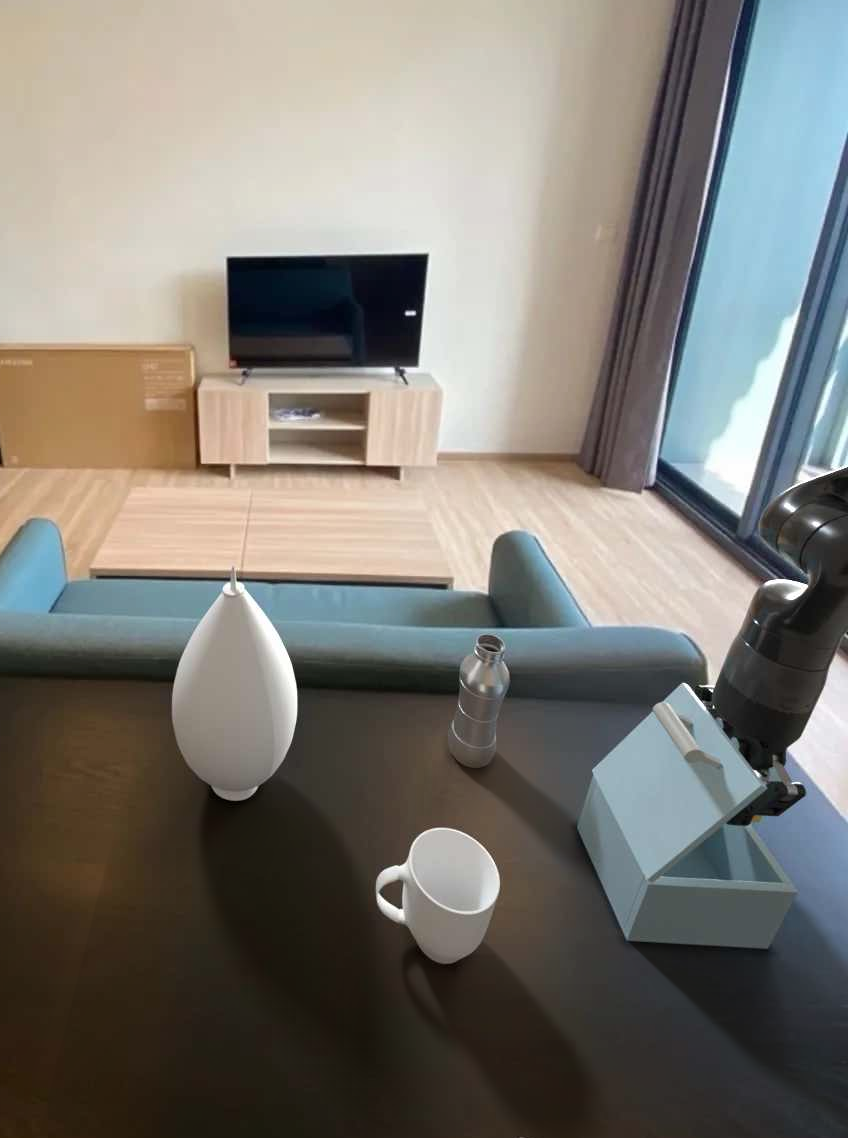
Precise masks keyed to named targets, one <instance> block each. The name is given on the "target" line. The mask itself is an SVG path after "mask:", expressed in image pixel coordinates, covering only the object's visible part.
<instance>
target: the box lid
mask: <svg viewBox="0 0 848 1138" xmlns="http://www.w3.org/2000/svg"><path fill="white" fill-rule="evenodd" d="M755 771H756V770H755ZM755 771H754V770H753V769H752V768H751V766H750V765H749V764H748V762H747V761H746V760H745V758H744V757H743V756H742V755H741V753H740V752H739V751H738V749H737V748H736V747H735V745H734V744H733V743H732V742H731V740H730V739H729V738H728V736H727V735H726V734H725V732H724V731H723V730H722V729H721V727H720V726H719V725H718V723H717V722H716V721H715V719H714V718H713V717H712V716H711V714H710V713H709V712H708V710H707V709H706V708H705V706H704V705H703V704H702V703H701V701H700V700H699V699H698V697H697V696H696V695H695V691H693V689H692V688H691V687H690V686H689V685H688V684H687V683H685V682H681V683H680V684H679V685H678V686H677V687H676V688H675V689H674V690H673V691H671V693H670V694H669V695H668V696H667V697H666V698H665V699H664V700H663V701H661V702H658V703H656V704H655V705H653V707H652V711H651V712H650V713H649V714H648V715H647V716H646V717H645V718H644V719H643V720H642V721H641V722H640V723H639V724H638V725H637V726H636V727H634V729H633V730H632V731H630V733H628V735H626V736H625V737H624V738H623V740H621V741H620V742H619V743H618V744H617V745H616V746H615V747H614V748H613V749H612V750H611V751H610V752H609V753H608V754H607V755H606V756H605V757H604V758H603V759H602V760H601V761H599V763H598V764H597V765H595V767H593V768H592V770H591V773H592V774H593V775H594V776H595V778H596V780H597V782H598V784H599V786H600V788H601V790H602V792H603V794H604V796H605V798H606V800H607V802H608V804H609V806H610V808H611V810H612V812H613V814H614V816H615V818H616V820H617V822H618V824H619V826H620V828H621V830H622V832H623V834H624V836H625V838H626V840H627V842H628V844H629V845H630V847H631V849H632V851H633V853H634V855H635V857H636V859H637V861H638V863H639V865H640V867H641V869H642V871H643V873H644V875H645V877H646V879H647V880H648V881H650V882H654V881H656V880H657V879H658V878H659V877H661V876H662V875H663V874H664V873H665V872H667V871H668V870H669V869H670V868H672V867H673V866H674V865H675V864H676V863H678V862H679V861H680V860H681V859H682V858H684V857H685V856H686V855H687V854H689V853H690V852H691V851H692V850H693V849H695V848H696V847H697V846H698V845H700V844H701V843H702V842H703V841H704V840H706V839H707V838H708V837H709V836H710V835H712V834H713V833H714V832H715V831H717V830H718V829H719V828H720V827H721V826H723V825H724V824H725V823H726V822H728V821H729V820H730V819H731V818H732V817H734V816H735V815H736V814H737V813H738V812H740V811H741V810H742V809H743V808H745V807H746V806H747V805H748V804H749V803H751V802H752V801H753V800H754V799H756V798H757V797H758V796H759V795H760V794H762V793H763V792H764V791H765V790H766V789H767V787H766V786H765V784H764V783H763V782H762V781H761V779H760V778H759V777H758V775H757V774H756V773H755Z"/></svg>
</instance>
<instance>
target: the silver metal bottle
mask: <svg viewBox="0 0 848 1138" xmlns="http://www.w3.org/2000/svg"><path fill="white" fill-rule="evenodd" d="M505 650H506V645H505V642H504V641H503V640H502V638H500V637H498V636H497V635H494V634H492V633H481V634H480V635H478V636H477V638H476V640H475V644H474V646H473V651H472V652H471V653H469V654H468V655H467V656H465V657H464V659H463V660H462V662H461V663H460V665H459V694H458V701H457V702H458V703H457V707H456V710H455V714H454V718H453V720H452V722H451V724H450V727H449V729H448V732H447V744H448V749H449V751H450V753H451V754H452V756H453V757H454V759H455V760H456V761H457V762H458V763H459V764H461V765H463V766H464V767H468V768H471V769H479V768H483V767H485V766H487V765H489V764H490V763H491V762H492V760H493V758H494V756H495V755H496V750H497V724H498V723H497V722H498V716H499V714H500V709H501V706H502V703H503V701H504V699H505V696H506V695H507V692H508V690H509V686H510V683H511V679H510V672H509V670H508V667H507V666H506V664H505V661H504V659H505V652H506V651H505Z"/></svg>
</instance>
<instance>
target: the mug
mask: <svg viewBox="0 0 848 1138" xmlns="http://www.w3.org/2000/svg"><path fill="white" fill-rule="evenodd" d="M398 880H399V881H401V882H403V885H402V892H401V893H402V895H401V903H402V905H401V906H402V908H400V909H399V908H398V907H396V906H395V905H393V904H391V903H389V902H388V901H387V900H385V899H384V897H382V896H381V894H380V891H381V890H382V888H384V887H385V886H386V885H388V884H391V883H394V882H396V881H398ZM500 886H501V880H500V874H499V871H498V867H497V865H496V863H495V861H494V859H493V858H492V856H491V854H490V853H489V852H488V850H486V848H485V847H484V846H483V845H482V844H481V843H480V842H478V841H477V840H476V839H475V838H473V837H471V836H470V835H468V834H467V833H465V832H462V831H461V830H457V829H454V828H449V827H435V828H431V829H430V828H429V829H428V830H425V831H423V832H422V833H420V834H419V835H418V836H416V838H414V841H413V842H412V844H411V846H410V849H409V853H408V857H407V859H406V861H405V863H403V864H401V865H393V866H390V867H387V868H385V869H384V870H382V871H381V872H380V873H379V874H378V876H377V877H376V881H375V897H376V898H375V899H376V903H377V907H378V909H379V910H380V911H381V913H382V914H383V916H386V918H388V919H390V920H391V921H393V922H395V923H396V924H401V925H404V926H406V927H407V928H408V929H409V932H410V934H411V935H412V937H413V938H414V940H415V942H416V944H417V945H418V948H419V949H420V951H422V953H423V954H424V955H425V956H427V958H429V959H431V960H432V961H434V962H436V963H439V964H444V965H449V964H453V963H456V962H458V961H459V960H461V959H463V958H465V957H466V958H467V956H469V955H471V954H472V953H473V952H474V951H476V949H478V947H479V946H480V944H481V943H482V942H483V940H484V937H485V935H486V933H487V930H488V927H489V925H490V922H491V919H492V915H493V912H494V909H495V906H496V902H497V900H498V896H499V893H500V888H501V887H500Z"/></svg>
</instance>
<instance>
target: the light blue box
mask: <svg viewBox="0 0 848 1138" xmlns="http://www.w3.org/2000/svg"><path fill="white" fill-rule="evenodd" d="M577 831H578V833H579V835H580V838H581V840H582V842H583V845H584V847H585V849H586V851H587V853H588V856H589V858H590V861H591V863H592V865H593V867H594V870H595V871H596V874H597V876H598V879H599V881H600V882H601V885H602V887H603V890H604V892H605V895H606V896H607V899H608V901H609V904H610V906H611V908H612V910H613V912H614V915H615V918H616V919H617V921H618V924H619V926H620V929H621V931H622V933H623V935H624V937H625V940H626V941H627V942H643V943H644V942H648V943H663V944H677V945H679V944H680V945H698V946H715V947H730V948H731V947H732V948H746V949H747V948H748V949H766V950H767V949H769V947H770V945H771V944H772V942H773V940H774V938H775V936H776V934H777V933H778V931H779V929H780V927H781V925H782V924H783V922H784V920H785V918H786V916H787V914H788V912H789V910H790V909H791V906H792V905H793V903H794V901H795V899H796V898H797V896H798V894H799V891H798V889H796V887H795V886H794V885H793V883H792V881H791V880H790V879H789V877H788V876H787V875H786V873H785V871H783V869H782V867H781V866H780V865H779V863H778V861H777V860H776V859H775V857H774V856H773V855H772V853H771V852H770V850H769V849H768V847H767V845H765V843H764V842H763V840H762V839H761V837H760V836H759V835H758V833H757V832H756V830H755V829H754V827H753V826H752V824H750V825H748V826H735V825H728V824H726V823H725V824H724V825H723V826H721V827H720V828H719V829H718V830H717V831H715V832H714V833H713V834H712V835H710V836H709V837H708V838H707V839H706V840H704V841H703V842H702V843H701V844H700V845H698V846H697V847H696V848H695V849H693V850H692V851H691V852H690V853H689V854H687V855H686V856H685V857H684V858H682V859H681V860H680V861H679V862H678V863H676V864H675V865H674V866H673V867H672V868H670V869H669V870H668V871H667V872H665V873H664V874H663V875H662V876H661V877H659V878H658V879H657V880H656V881H654V882H650V881H648V880H647V879H646V877H645V875H644V873H643V871H642V869H641V867H640V865H639V863H638V861H637V859H636V857H635V855H634V853H633V851H632V849H631V847H630V845H629V844H628V842H627V840H626V838H625V836H624V834H623V832H622V830H621V828H620V826H619V824H618V822H617V820H616V818H615V816H614V814H613V812H612V810H611V808H610V806H609V804H608V802H607V800H606V798H605V796H604V794H603V792H602V790H601V788H600V786H599V784H598V782H597V780H596V778H595V776H594V774H593V775H592V778H591V781H590V784H589V787H588V791H587V795H586V797H585V801H584V803H583V807H582V811H581V813H580V817H579V820H578V823H577Z"/></svg>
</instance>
